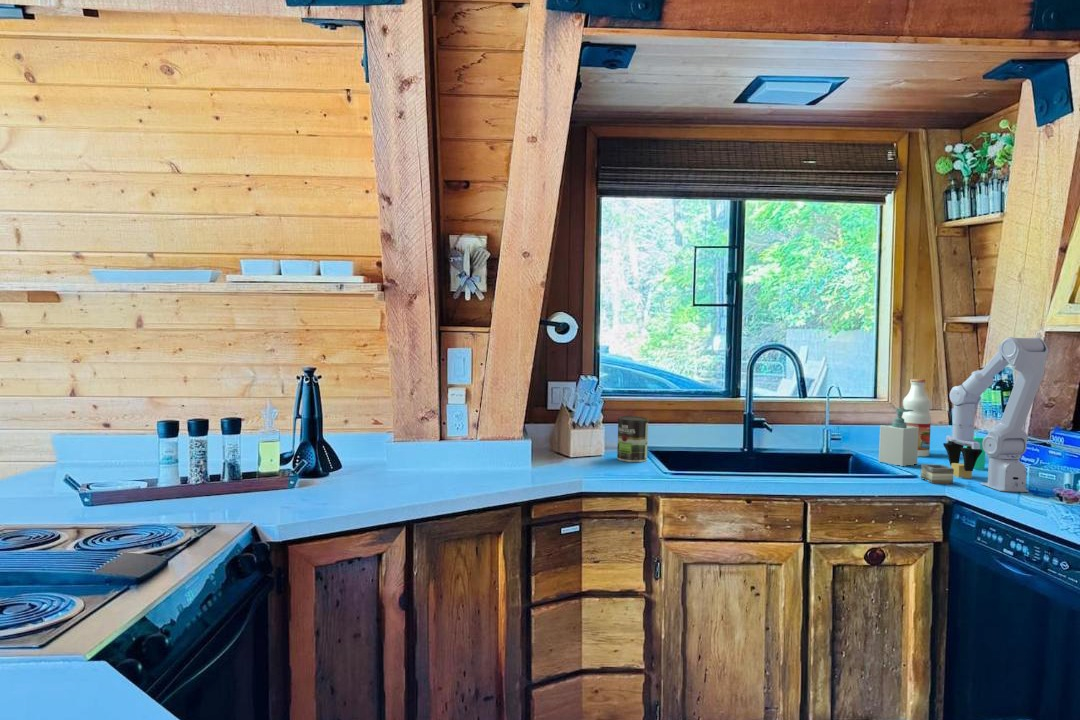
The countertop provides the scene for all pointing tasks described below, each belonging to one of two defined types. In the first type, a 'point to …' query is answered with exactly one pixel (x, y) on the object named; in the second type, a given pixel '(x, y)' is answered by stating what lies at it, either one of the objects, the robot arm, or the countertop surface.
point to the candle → (981, 459)
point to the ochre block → (960, 470)
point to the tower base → (937, 473)
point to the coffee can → (632, 439)
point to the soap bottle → (898, 442)
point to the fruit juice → (919, 414)
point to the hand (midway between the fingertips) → (961, 468)
